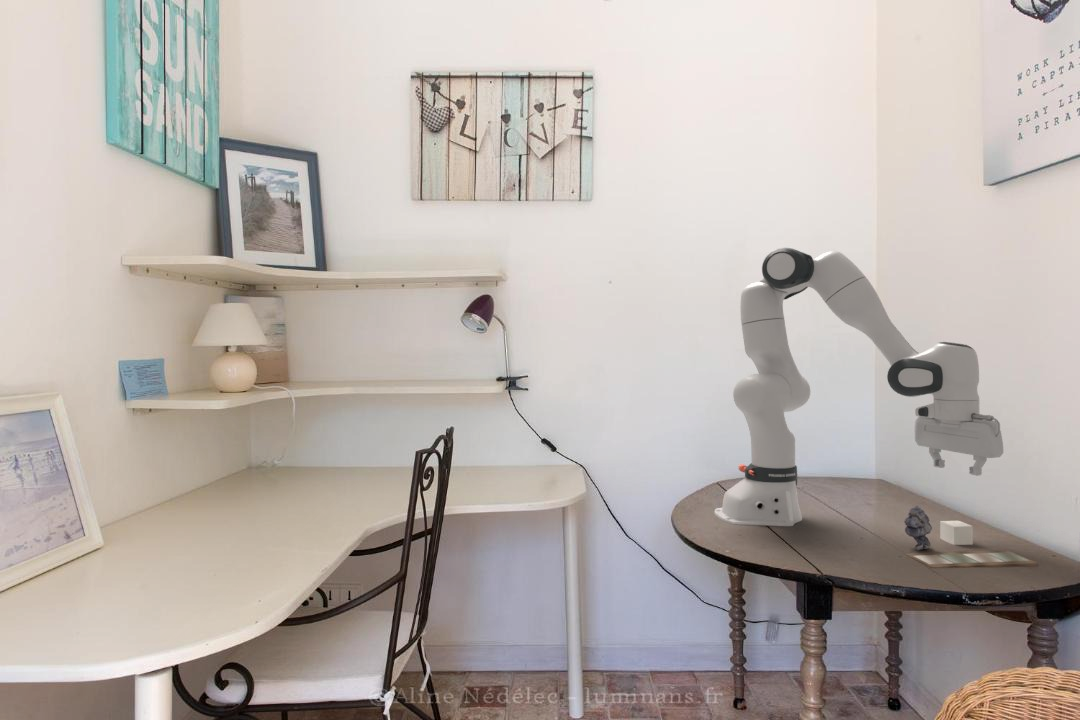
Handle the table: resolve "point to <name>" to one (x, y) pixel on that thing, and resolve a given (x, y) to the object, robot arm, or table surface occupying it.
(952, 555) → the brown rectangular frame
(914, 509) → the seashell
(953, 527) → the cream white cube
